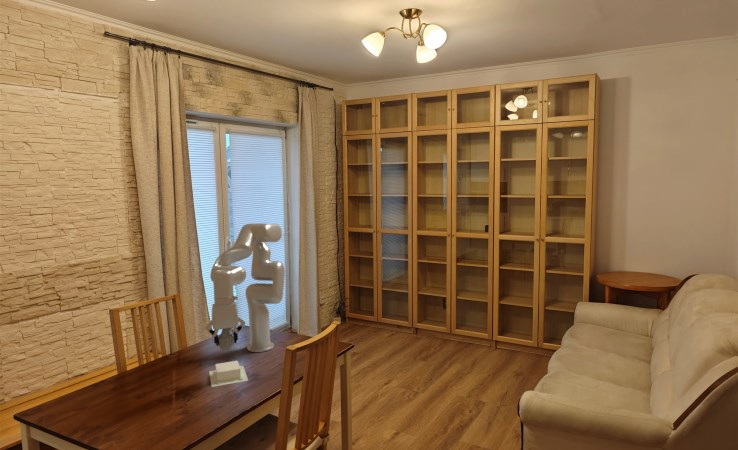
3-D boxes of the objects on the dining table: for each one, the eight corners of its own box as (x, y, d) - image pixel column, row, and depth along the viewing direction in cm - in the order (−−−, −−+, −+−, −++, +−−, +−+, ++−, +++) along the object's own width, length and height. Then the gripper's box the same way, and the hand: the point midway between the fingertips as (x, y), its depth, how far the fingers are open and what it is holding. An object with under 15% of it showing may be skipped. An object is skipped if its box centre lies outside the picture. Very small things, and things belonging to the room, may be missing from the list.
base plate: (209, 374, 200) (208, 370, 200) (243, 368, 205) (243, 364, 205) (211, 390, 185) (211, 386, 185) (248, 384, 191) (248, 379, 190)
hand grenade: (219, 354, 190) (218, 327, 189) (217, 349, 195) (215, 323, 194) (236, 351, 193) (235, 325, 192) (233, 346, 198) (232, 321, 197)
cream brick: (215, 373, 198) (215, 364, 197) (238, 369, 201) (237, 360, 201) (217, 382, 189) (217, 372, 189) (240, 378, 193) (240, 368, 192)
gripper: (244, 296, 198) (246, 337, 200) (200, 300, 192) (203, 343, 194) (247, 300, 191) (249, 343, 193) (201, 305, 185) (204, 349, 187)
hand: (226, 343), depth 194 cm, fingers closed on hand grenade, 6 cm apart
